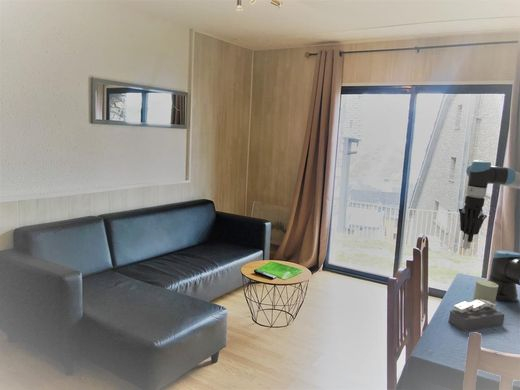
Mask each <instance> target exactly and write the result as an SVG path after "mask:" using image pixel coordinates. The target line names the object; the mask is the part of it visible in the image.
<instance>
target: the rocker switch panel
mask: <svg viewBox="0 0 520 390" xmlns="http://www.w3.org/2000/svg"><path fill="white" fill-rule="evenodd" d="M504 320H505V313H503V312H501V311H499V310H497V309H494V308H490V307H486V306H485V307H484V308H481V309H479V310H477V311H473V310H471V309H470V310H468V311H466V312H463V313H461V312H459V311H457V310H456V309H454V308H453V309H452V310H450V311H449V318H448V322H449V323H450V324H452V325H453V326H455V327H456V328H458V329H460V330H461V329H462V330H461V331H463V330H464V331H463V332H466V331H465V330H468V331H473V330H480V329H487V328H493V327H498V326H499V327H500V326H501V327H502V326H503V325H504Z"/></svg>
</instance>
